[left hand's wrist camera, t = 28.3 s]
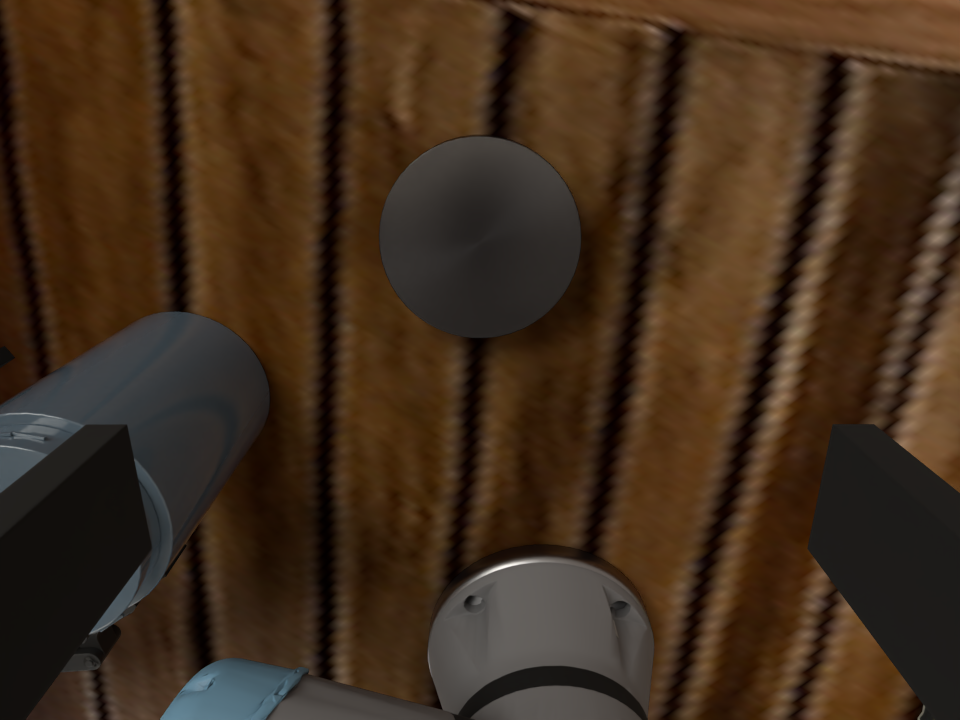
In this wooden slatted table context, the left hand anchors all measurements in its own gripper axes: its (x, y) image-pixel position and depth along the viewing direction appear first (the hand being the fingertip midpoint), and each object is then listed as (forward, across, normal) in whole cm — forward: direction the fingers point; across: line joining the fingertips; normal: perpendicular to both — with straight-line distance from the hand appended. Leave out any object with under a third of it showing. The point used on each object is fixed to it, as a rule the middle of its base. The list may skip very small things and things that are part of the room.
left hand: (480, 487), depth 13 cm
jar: (+26, +18, +9) cm, 33 cm away
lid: (+25, 0, 0) cm, 25 cm away
